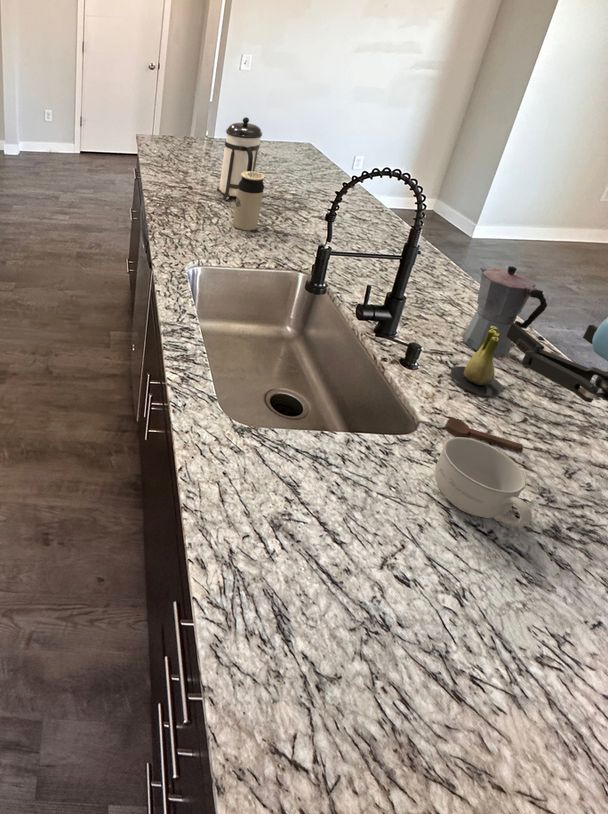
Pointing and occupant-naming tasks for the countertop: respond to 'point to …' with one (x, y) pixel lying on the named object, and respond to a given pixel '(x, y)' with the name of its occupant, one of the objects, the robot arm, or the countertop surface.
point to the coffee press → (239, 155)
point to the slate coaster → (485, 390)
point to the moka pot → (501, 307)
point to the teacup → (481, 480)
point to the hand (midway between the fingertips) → (549, 330)
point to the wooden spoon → (479, 435)
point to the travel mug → (248, 200)
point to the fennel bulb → (483, 360)
